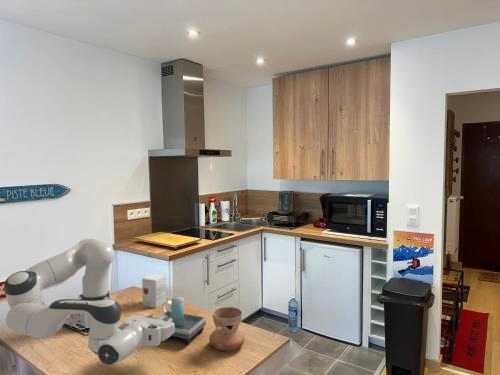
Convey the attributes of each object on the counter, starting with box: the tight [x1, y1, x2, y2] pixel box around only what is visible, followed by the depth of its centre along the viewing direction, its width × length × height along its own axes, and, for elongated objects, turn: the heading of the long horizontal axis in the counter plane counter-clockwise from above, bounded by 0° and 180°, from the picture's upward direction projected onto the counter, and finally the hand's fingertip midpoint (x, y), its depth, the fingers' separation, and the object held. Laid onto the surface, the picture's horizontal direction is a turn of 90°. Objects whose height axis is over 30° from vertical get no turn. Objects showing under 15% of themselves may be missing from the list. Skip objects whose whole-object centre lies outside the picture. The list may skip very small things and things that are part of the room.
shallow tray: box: [155, 309, 207, 345], centre depth 153 cm, size 20×14×6 cm
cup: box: [162, 299, 172, 313], centre depth 170 cm, size 7×10×8 cm
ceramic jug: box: [208, 306, 246, 352], centre depth 144 cm, size 18×14×14 cm
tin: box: [170, 296, 185, 326], centre depth 152 cm, size 5×5×11 cm
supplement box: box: [141, 273, 167, 309], centre depth 185 cm, size 9×9×15 cm
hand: (161, 317), depth 141 cm, fingers open, 8 cm apart
